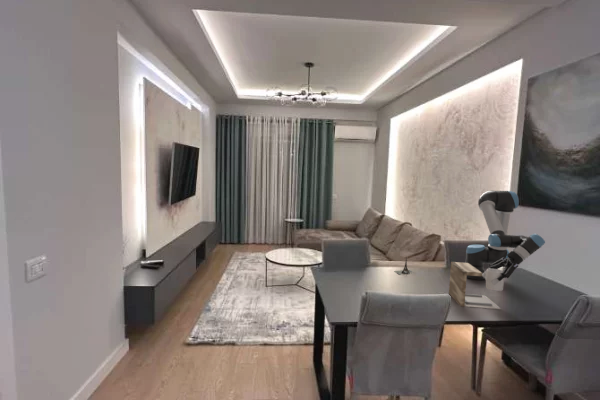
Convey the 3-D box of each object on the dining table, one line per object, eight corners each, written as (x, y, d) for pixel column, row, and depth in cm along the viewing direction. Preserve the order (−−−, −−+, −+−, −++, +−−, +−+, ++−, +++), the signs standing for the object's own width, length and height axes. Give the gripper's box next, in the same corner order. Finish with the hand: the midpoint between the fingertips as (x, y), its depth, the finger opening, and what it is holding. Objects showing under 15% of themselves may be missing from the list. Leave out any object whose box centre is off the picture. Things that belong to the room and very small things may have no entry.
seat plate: (484, 295, 197) (484, 293, 197) (500, 309, 177) (500, 306, 177) (453, 293, 199) (454, 291, 199) (466, 306, 180) (466, 304, 179)
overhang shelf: (465, 294, 198) (468, 262, 197) (479, 307, 179) (482, 272, 177) (448, 293, 200) (450, 261, 198) (460, 306, 180) (463, 271, 178)
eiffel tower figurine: (410, 270, 247) (411, 253, 246) (418, 274, 237) (419, 257, 236) (392, 271, 244) (393, 254, 243) (399, 275, 234) (400, 257, 233)
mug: (491, 284, 193) (493, 266, 192) (506, 291, 181) (508, 272, 180) (478, 284, 192) (479, 266, 191) (492, 291, 180) (493, 272, 179)
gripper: (535, 265, 171) (502, 291, 174) (511, 255, 195) (483, 278, 198) (525, 255, 172) (492, 281, 174) (502, 246, 195) (474, 269, 198)
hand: (487, 279), depth 186 cm, fingers closed on mug, 12 cm apart
